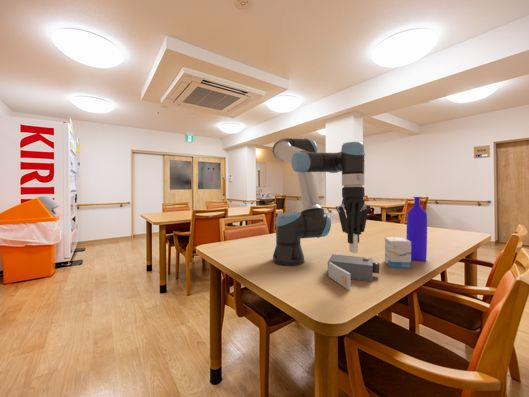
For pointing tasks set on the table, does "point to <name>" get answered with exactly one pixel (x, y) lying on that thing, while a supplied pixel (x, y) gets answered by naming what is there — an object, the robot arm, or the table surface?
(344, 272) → the side door
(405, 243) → the ink box
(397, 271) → the table surface
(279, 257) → the robot arm
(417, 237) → the bottle
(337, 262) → the camera box
